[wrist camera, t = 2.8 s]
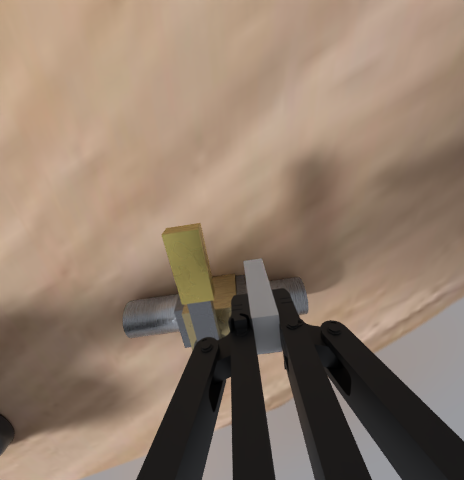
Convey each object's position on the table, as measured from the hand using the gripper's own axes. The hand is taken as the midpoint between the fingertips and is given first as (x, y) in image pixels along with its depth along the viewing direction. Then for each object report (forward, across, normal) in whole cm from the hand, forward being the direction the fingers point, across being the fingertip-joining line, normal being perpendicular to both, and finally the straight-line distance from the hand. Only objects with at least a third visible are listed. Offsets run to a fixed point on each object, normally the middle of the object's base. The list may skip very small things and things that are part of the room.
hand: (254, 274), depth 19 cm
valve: (+12, -6, -10) cm, 17 cm away
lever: (+3, -5, -4) cm, 7 cm away
